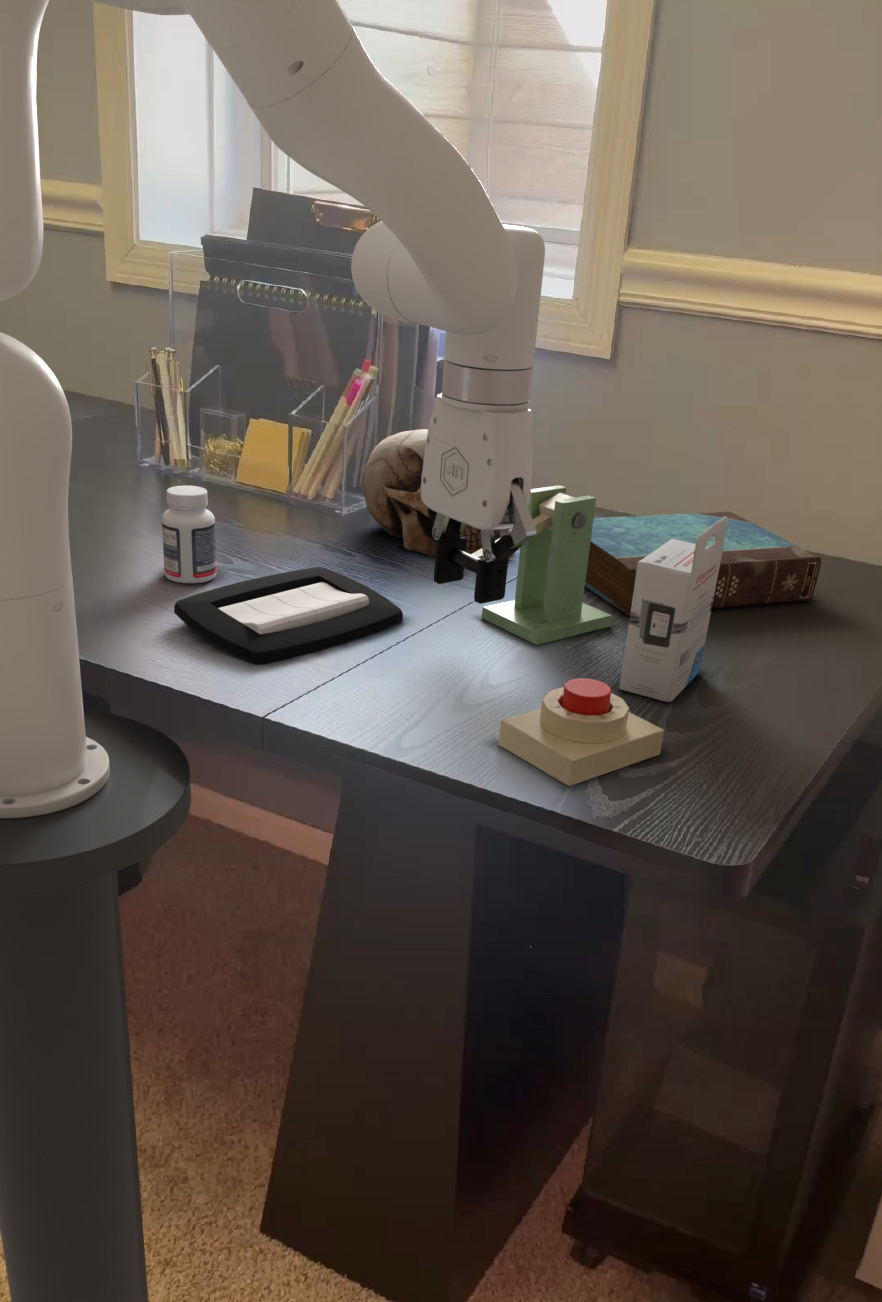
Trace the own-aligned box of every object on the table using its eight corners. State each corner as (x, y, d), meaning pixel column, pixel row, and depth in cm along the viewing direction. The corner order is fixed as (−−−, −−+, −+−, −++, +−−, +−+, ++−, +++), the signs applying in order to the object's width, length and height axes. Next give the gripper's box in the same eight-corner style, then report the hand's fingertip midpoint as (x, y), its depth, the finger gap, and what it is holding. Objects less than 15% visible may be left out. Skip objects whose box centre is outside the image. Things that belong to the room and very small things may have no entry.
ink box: (650, 660, 111) (676, 503, 104) (701, 673, 109) (731, 514, 102) (616, 690, 104) (641, 524, 97) (669, 704, 102) (699, 536, 95)
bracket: (536, 645, 112) (551, 511, 106) (481, 618, 118) (492, 489, 112) (610, 626, 118) (628, 498, 112) (554, 601, 123) (569, 478, 117)
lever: (485, 586, 107) (480, 563, 106) (449, 570, 110) (445, 547, 109) (589, 524, 112) (586, 501, 111) (552, 511, 116) (549, 488, 114)
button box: (568, 787, 88) (575, 738, 86) (497, 744, 93) (502, 698, 91) (660, 754, 94) (668, 708, 92) (588, 716, 99) (594, 672, 97)
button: (584, 722, 90) (587, 700, 89) (552, 704, 92) (554, 683, 91) (618, 711, 92) (621, 690, 91) (585, 694, 94) (588, 674, 93)
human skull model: (508, 565, 132) (507, 441, 126) (354, 567, 134) (345, 444, 128) (514, 531, 146) (513, 418, 140) (374, 532, 148) (367, 421, 142)
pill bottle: (219, 569, 125) (217, 484, 121) (213, 585, 121) (211, 498, 117) (167, 566, 125) (164, 482, 121) (160, 583, 120) (156, 496, 116)
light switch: (255, 650, 102) (159, 590, 109) (253, 680, 103) (159, 619, 111) (418, 603, 115) (323, 552, 122) (414, 630, 116) (320, 578, 124)
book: (628, 617, 121) (636, 570, 118) (551, 562, 135) (556, 519, 132) (812, 602, 129) (822, 557, 126) (721, 551, 143) (728, 510, 141)
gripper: (390, 369, 104) (380, 569, 113) (521, 408, 93) (498, 627, 102) (457, 365, 109) (442, 559, 117) (589, 402, 97) (562, 613, 106)
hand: (468, 588), depth 109 cm, fingers closed on lever, 5 cm apart
